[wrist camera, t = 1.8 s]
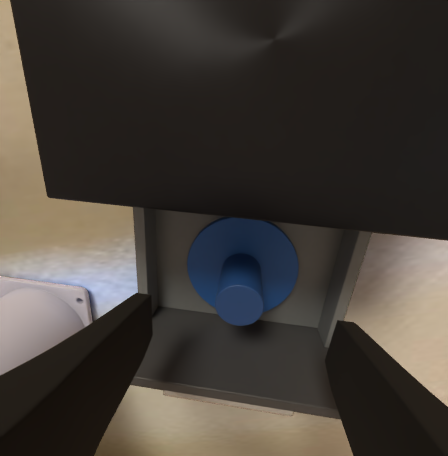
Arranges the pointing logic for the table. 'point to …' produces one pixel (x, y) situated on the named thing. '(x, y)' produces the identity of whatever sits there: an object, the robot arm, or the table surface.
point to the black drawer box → (245, 108)
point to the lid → (242, 268)
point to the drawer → (249, 334)
